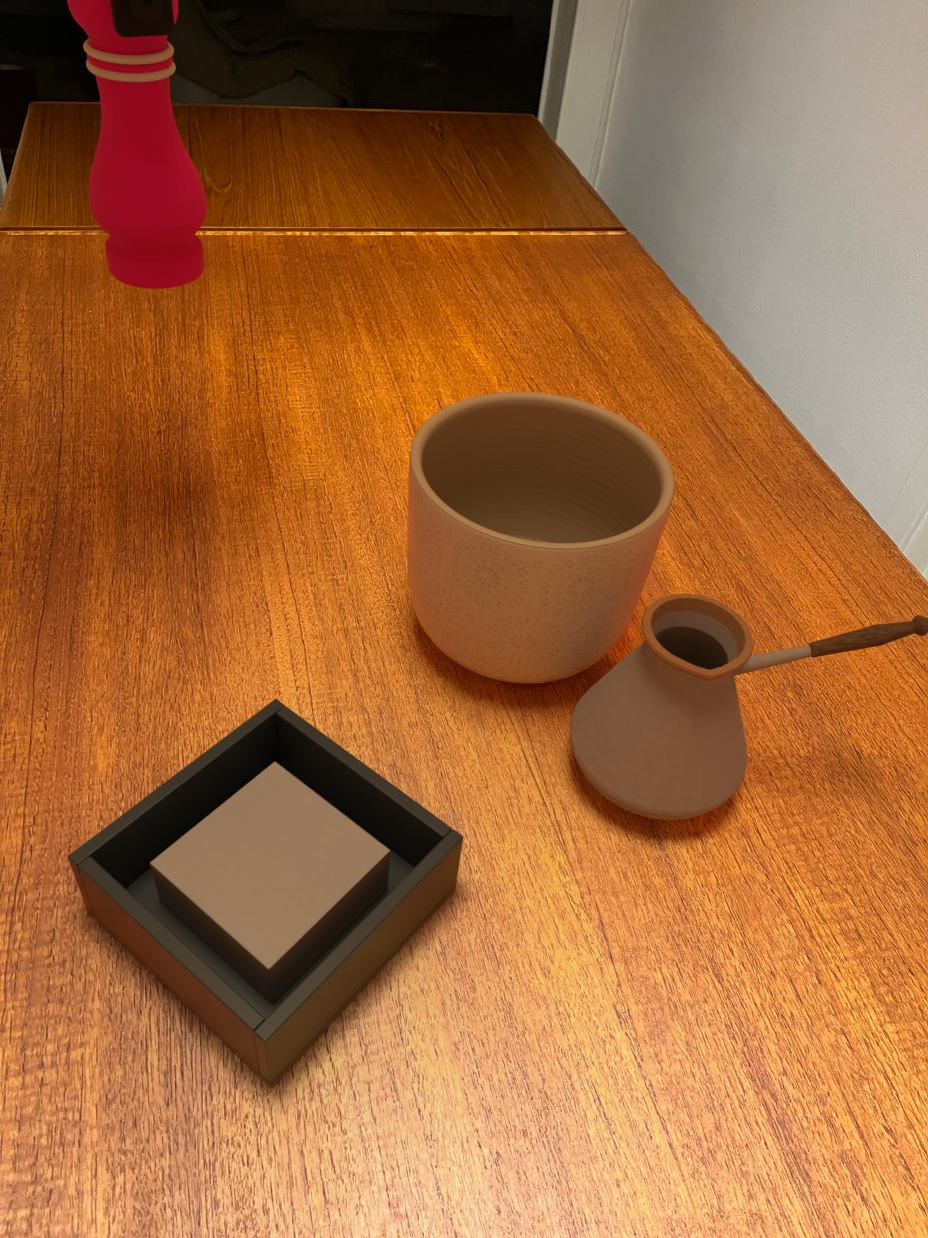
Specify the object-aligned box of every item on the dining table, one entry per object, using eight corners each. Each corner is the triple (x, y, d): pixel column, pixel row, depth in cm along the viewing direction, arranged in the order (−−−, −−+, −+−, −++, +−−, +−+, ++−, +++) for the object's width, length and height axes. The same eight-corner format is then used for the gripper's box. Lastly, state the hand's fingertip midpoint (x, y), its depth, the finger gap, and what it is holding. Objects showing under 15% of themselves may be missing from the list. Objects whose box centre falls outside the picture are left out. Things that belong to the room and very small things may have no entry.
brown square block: (159, 901, 54) (149, 862, 51) (278, 800, 59) (274, 760, 57) (272, 1005, 50) (268, 969, 48) (388, 888, 56) (390, 850, 53)
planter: (420, 729, 65) (435, 557, 54) (384, 561, 77) (391, 393, 66) (658, 705, 68) (716, 539, 58) (589, 548, 80) (627, 386, 70)
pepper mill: (80, 260, 65) (14, -106, 52) (176, 237, 69) (138, -109, 55) (135, 303, 62) (79, -78, 48) (233, 277, 66) (207, -82, 52)
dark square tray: (86, 911, 54) (66, 856, 50) (279, 754, 63) (275, 697, 59) (271, 1089, 48) (264, 1043, 44) (455, 889, 57) (464, 836, 53)
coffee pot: (573, 840, 60) (622, 677, 49) (554, 698, 68) (592, 532, 58) (904, 846, 62) (1019, 690, 51) (847, 707, 70) (935, 548, 59)
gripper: (-70, -462, 46) (15, -18, 59) (30, -468, 36) (107, 67, 49) (89, -436, 49) (138, -21, 62) (221, -435, 40) (247, 58, 52)
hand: (124, 14), depth 55 cm, fingers closed on pepper mill, 6 cm apart
